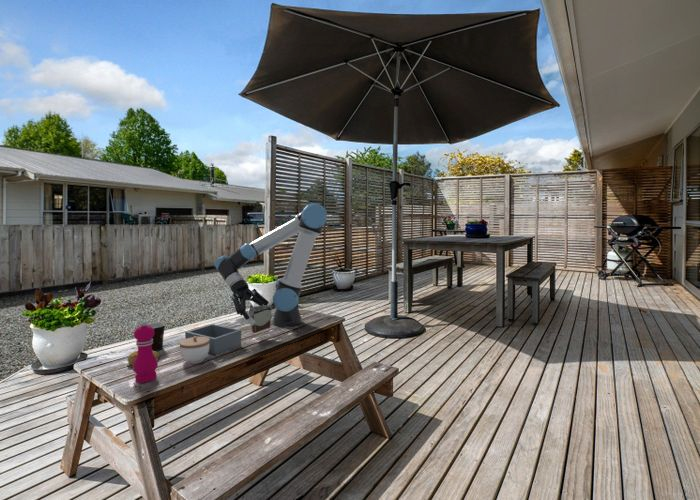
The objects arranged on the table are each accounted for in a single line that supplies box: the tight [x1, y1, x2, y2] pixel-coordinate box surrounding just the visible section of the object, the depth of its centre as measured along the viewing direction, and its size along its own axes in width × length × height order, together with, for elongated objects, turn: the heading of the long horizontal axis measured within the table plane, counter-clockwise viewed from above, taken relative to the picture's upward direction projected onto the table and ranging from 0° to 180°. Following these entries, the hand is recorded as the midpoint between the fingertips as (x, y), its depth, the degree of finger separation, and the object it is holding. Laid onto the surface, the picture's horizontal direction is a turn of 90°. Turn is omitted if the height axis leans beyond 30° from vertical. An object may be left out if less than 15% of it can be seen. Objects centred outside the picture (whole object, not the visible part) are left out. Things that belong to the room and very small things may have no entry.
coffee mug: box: [147, 322, 166, 352], centre depth 153 cm, size 12×9×10 cm
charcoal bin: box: [184, 323, 242, 357], centre depth 155 cm, size 14×18×7 cm
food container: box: [248, 305, 273, 334], centre depth 165 cm, size 12×6×10 cm, turn 149°
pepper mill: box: [132, 320, 159, 384], centre depth 123 cm, size 7×7×20 cm
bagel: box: [127, 350, 160, 366], centre depth 139 cm, size 10×11×5 cm
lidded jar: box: [179, 336, 210, 364], centre depth 140 cm, size 11×11×9 cm
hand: (262, 320), depth 164 cm, fingers closed on food container, 11 cm apart
